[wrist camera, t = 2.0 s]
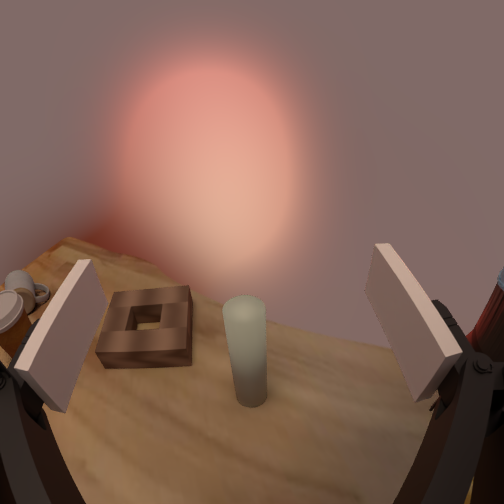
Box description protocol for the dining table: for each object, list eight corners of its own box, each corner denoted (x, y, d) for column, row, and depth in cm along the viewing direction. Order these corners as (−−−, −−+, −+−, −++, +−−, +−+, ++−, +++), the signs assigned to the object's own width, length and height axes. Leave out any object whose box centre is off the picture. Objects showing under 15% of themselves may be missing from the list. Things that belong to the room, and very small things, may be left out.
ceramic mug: (16, 323, 46) (0, 294, 42) (13, 303, 51) (-1, 277, 47) (54, 303, 52) (40, 274, 48) (48, 286, 57) (36, 258, 53)
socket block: (192, 302, 52) (189, 285, 50) (191, 365, 40) (185, 348, 38) (120, 308, 51) (113, 292, 49) (105, 368, 39) (95, 352, 37)
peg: (264, 380, 38) (262, 292, 29) (269, 405, 34) (269, 321, 26) (235, 384, 37) (221, 297, 29) (238, 409, 34) (223, 326, 26)
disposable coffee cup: (40, 330, 45) (12, 281, 39) (58, 355, 40) (25, 303, 34) (7, 355, 38) (-25, 308, 32) (21, 385, 34) (-18, 335, 27)
